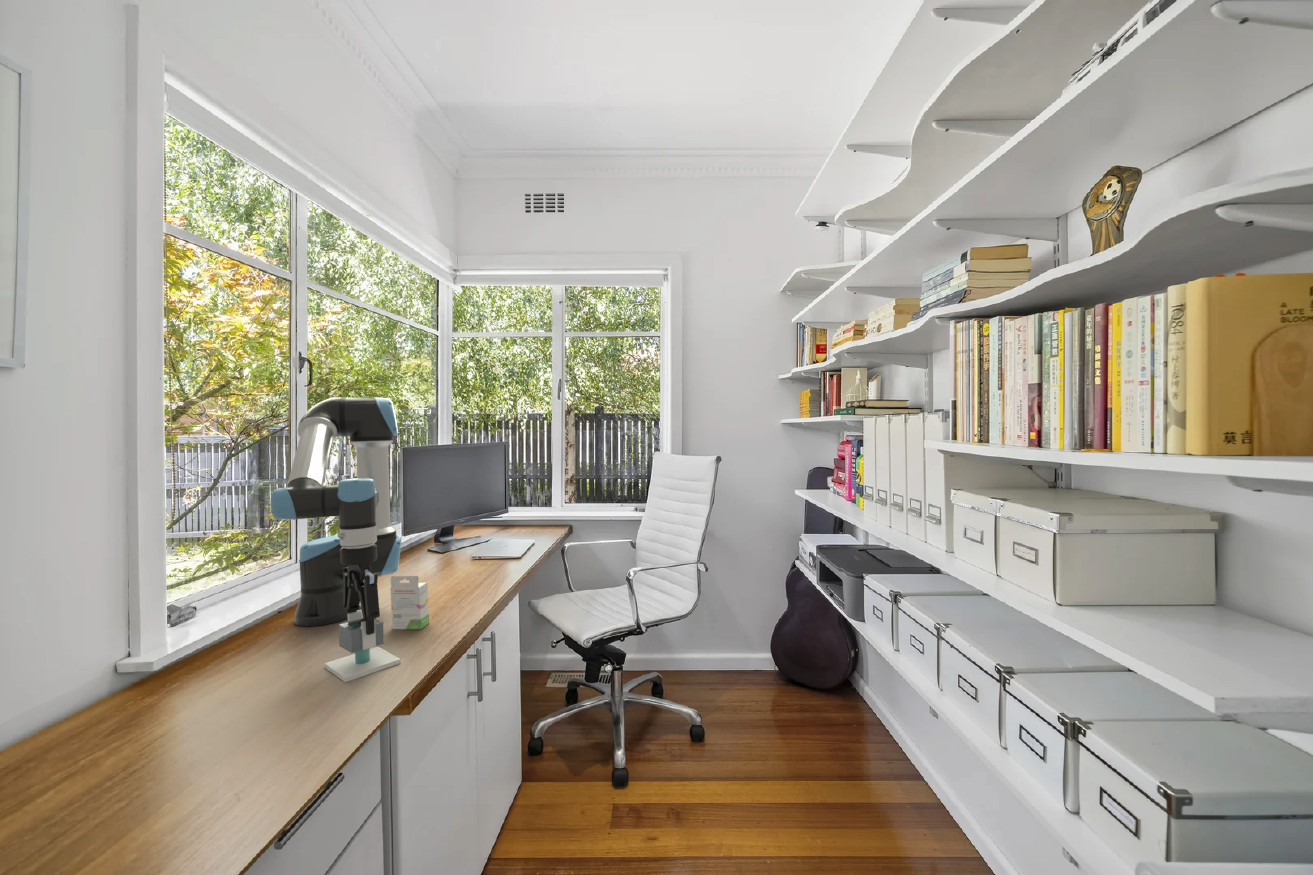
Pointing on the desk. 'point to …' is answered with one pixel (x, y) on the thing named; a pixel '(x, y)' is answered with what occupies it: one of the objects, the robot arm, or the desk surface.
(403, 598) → the ink box
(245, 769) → the desk surface
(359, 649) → the collar
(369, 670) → the post stand
